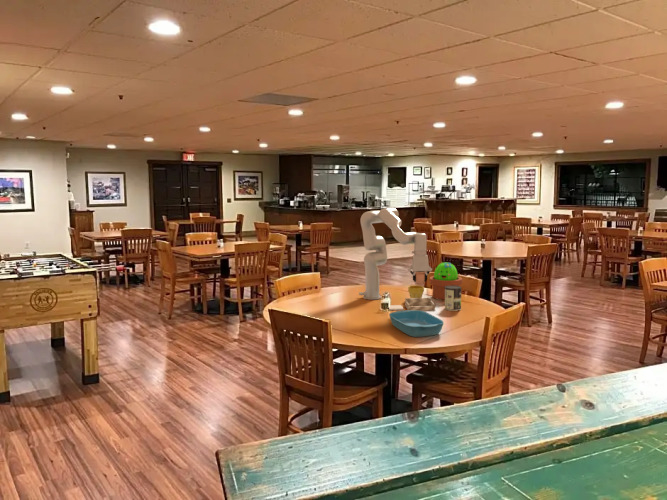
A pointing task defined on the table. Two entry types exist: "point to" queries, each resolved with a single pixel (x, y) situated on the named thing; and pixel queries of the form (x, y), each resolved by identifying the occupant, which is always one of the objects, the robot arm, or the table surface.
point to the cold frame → (419, 304)
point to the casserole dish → (416, 323)
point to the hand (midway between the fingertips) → (419, 281)
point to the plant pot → (415, 291)
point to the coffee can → (453, 298)
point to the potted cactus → (444, 279)
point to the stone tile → (396, 307)
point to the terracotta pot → (420, 277)
